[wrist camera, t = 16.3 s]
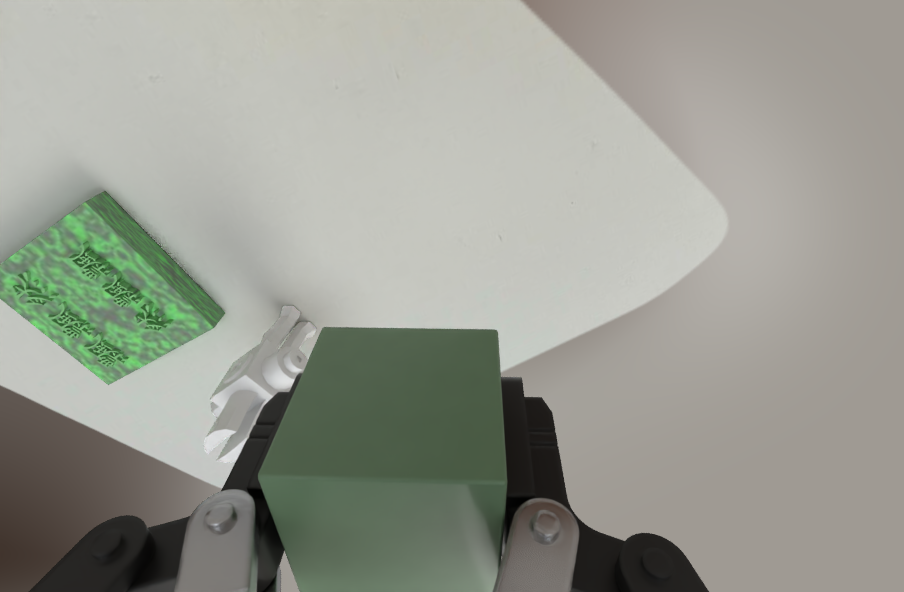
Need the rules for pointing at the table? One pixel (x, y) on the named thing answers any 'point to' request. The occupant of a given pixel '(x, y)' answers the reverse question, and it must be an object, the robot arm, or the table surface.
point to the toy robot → (257, 383)
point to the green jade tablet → (105, 291)
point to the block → (392, 463)
